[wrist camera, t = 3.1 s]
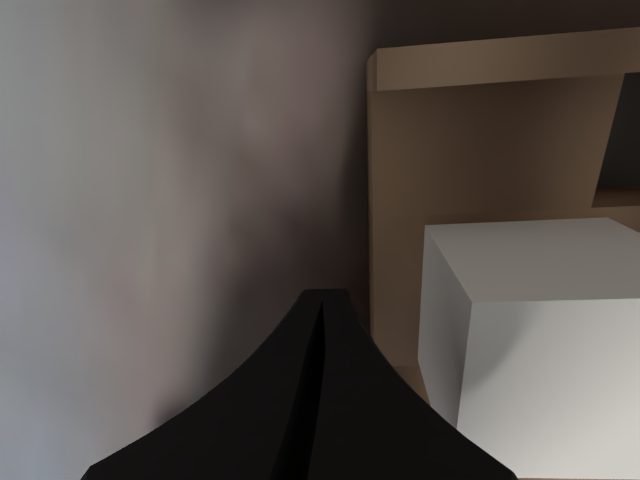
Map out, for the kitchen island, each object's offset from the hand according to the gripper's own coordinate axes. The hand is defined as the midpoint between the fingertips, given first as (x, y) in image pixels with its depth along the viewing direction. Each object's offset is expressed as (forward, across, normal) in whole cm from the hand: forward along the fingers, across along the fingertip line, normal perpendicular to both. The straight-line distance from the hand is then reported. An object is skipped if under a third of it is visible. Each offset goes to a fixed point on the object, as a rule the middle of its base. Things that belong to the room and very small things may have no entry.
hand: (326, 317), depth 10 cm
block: (+1, -6, 0) cm, 6 cm away
